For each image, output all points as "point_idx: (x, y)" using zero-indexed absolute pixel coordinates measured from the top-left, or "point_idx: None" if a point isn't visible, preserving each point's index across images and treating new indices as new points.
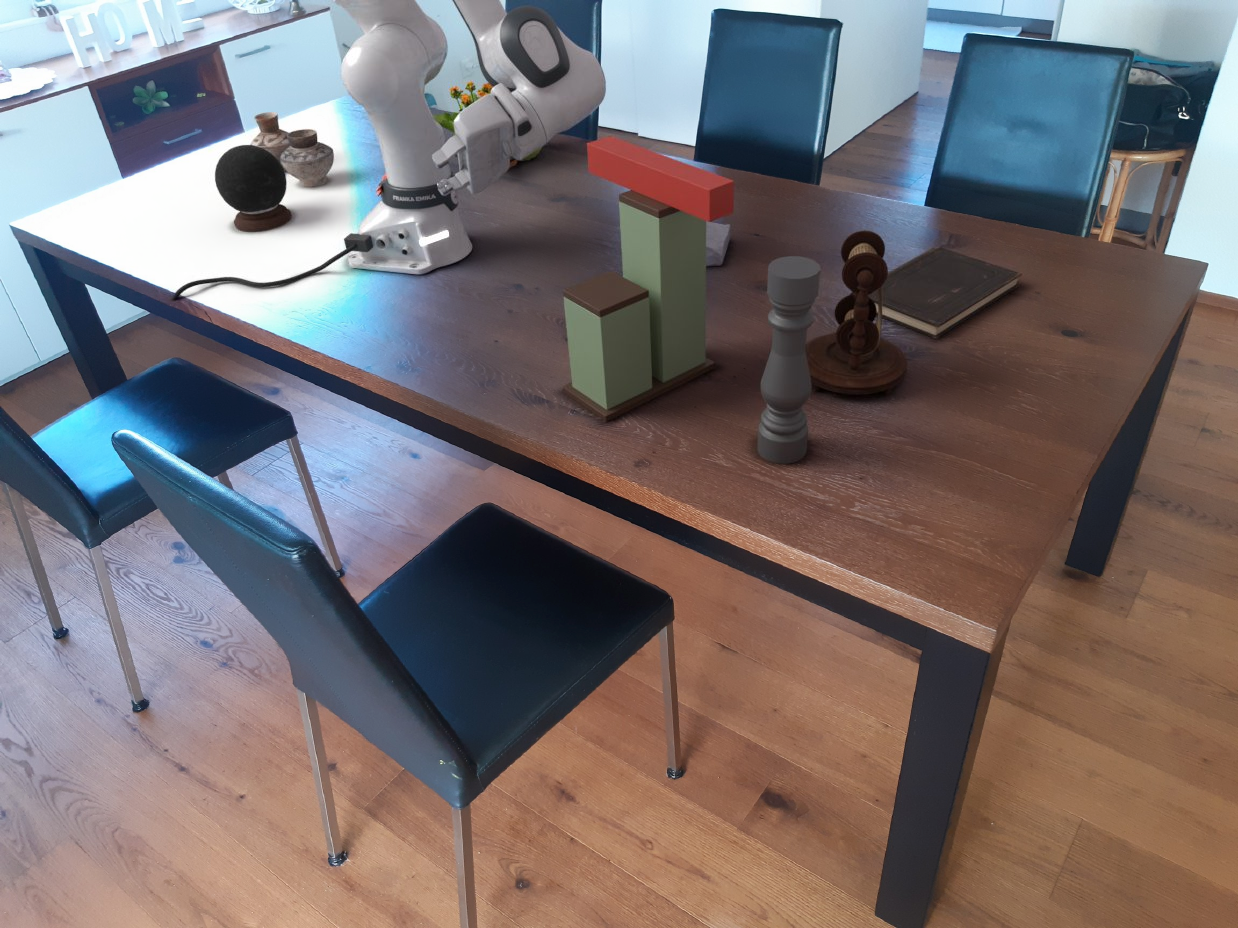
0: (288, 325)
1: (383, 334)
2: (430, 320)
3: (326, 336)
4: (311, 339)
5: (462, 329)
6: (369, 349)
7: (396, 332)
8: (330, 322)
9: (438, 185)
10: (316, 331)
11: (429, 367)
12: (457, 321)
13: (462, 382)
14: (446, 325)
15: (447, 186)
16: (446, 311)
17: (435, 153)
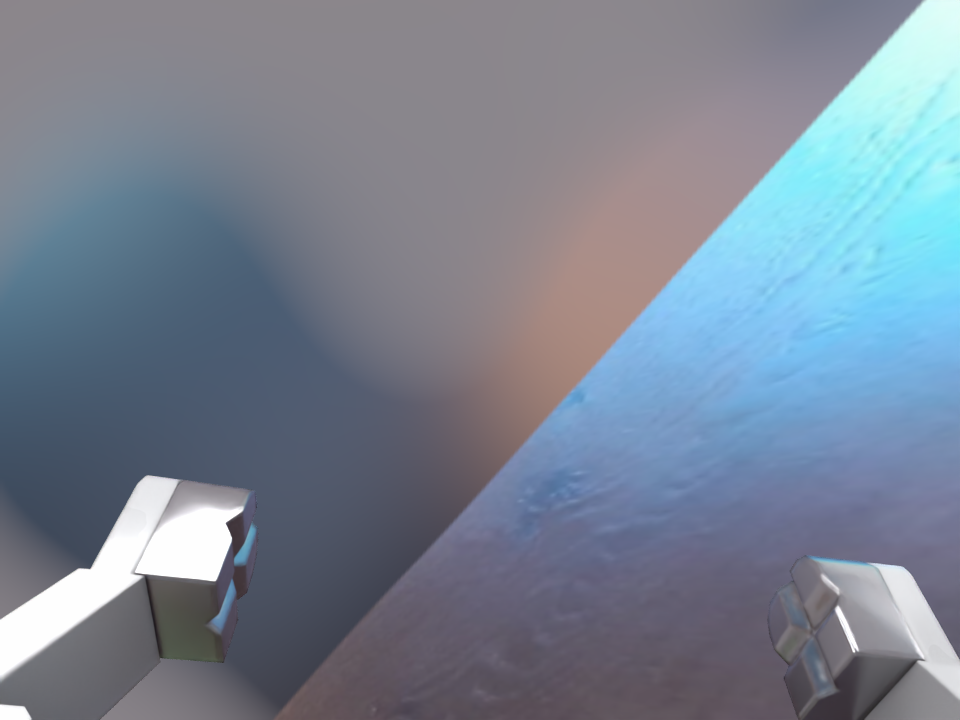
0: (888, 99)
1: (758, 401)
2: None
3: (785, 234)
4: (775, 200)
5: (731, 689)
6: (672, 378)
7: (763, 442)
8: (888, 211)
9: (800, 568)
10: (826, 194)
11: (528, 562)
12: None
13: (434, 654)
14: None
15: (796, 665)
16: None
17: (126, 509)
